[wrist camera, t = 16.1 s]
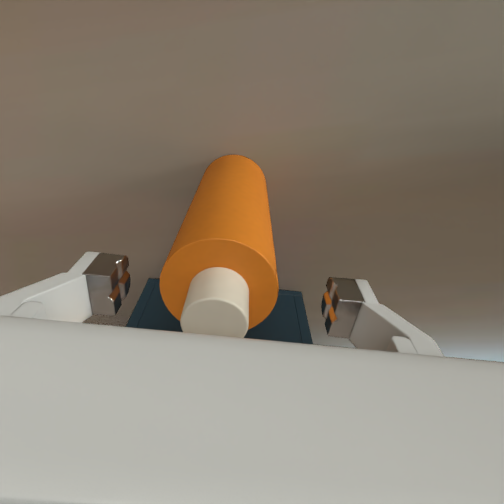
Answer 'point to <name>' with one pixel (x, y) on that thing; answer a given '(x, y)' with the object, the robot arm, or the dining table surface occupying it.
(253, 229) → the orange capped bottle
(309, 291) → the dining table surface
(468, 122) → the dining table surface
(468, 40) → the dining table surface
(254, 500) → the robot arm
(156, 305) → the dark open tray box
